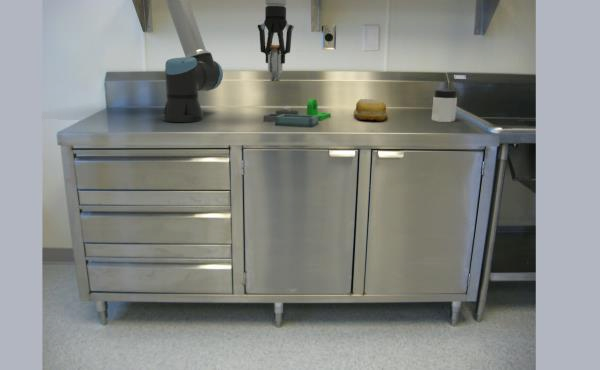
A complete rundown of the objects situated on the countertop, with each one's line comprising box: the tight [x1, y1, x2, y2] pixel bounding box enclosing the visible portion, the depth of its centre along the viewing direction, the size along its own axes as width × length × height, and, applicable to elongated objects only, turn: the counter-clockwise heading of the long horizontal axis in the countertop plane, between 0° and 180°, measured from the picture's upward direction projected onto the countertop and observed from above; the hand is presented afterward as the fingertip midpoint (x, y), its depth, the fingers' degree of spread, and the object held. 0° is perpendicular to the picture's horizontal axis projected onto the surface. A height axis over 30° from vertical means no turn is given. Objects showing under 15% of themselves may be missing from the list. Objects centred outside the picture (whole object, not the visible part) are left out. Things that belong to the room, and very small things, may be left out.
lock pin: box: [269, 44, 281, 82], centre depth 185 cm, size 4×4×13 cm
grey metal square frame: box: [263, 113, 282, 123], centre depth 190 cm, size 7×7×2 cm
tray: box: [274, 114, 319, 128], centre depth 179 cm, size 13×9×3 cm
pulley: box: [275, 105, 299, 115], centre depth 201 cm, size 9×9×4 cm
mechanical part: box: [306, 98, 331, 122], centre depth 197 cm, size 12×6×8 cm, turn 154°
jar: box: [431, 89, 458, 123], centre depth 194 cm, size 9×8×12 cm
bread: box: [353, 98, 388, 122], centre depth 201 cm, size 13×26×8 cm, turn 177°
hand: (275, 72), depth 186 cm, fingers closed on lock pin, 3 cm apart
